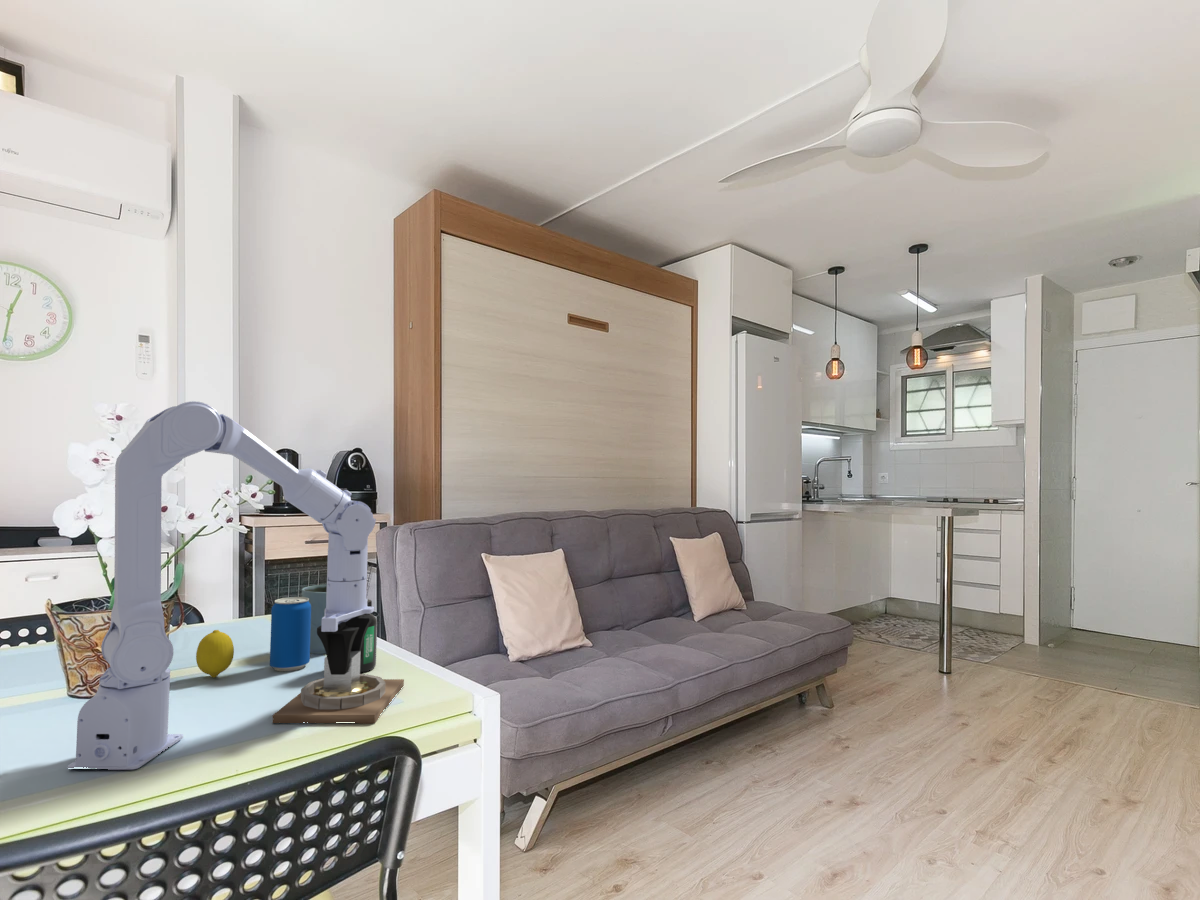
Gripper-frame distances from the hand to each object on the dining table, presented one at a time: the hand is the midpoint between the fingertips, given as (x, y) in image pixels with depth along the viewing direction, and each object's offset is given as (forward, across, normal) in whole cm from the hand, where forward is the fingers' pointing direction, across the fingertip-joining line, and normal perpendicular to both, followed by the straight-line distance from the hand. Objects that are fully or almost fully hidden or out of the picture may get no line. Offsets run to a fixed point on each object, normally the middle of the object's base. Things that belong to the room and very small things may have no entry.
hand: (344, 668), depth 99 cm
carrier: (+5, 0, 0) cm, 5 cm away
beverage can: (+5, +19, +16) cm, 25 cm away
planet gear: (+4, 0, 0) cm, 4 cm away
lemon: (+5, +13, +26) cm, 30 cm away
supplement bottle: (+5, +18, +4) cm, 19 cm away
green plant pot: (+5, +32, +14) cm, 35 cm away
